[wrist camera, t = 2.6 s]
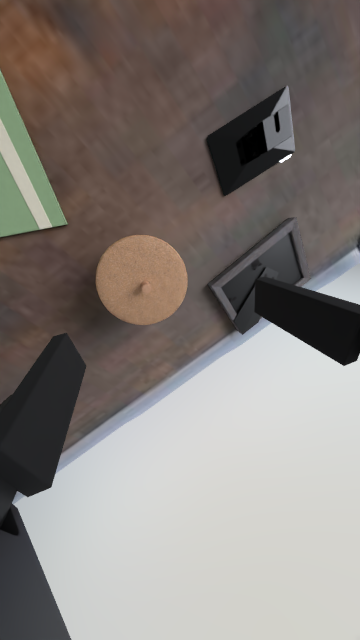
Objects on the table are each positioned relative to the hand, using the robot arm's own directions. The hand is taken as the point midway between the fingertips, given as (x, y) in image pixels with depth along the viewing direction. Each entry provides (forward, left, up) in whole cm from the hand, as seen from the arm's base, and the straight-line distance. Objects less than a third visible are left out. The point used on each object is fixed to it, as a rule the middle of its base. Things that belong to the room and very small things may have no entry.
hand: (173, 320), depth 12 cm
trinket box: (-1, 0, -18) cm, 18 cm away
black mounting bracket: (+19, +13, -18) cm, 29 cm away
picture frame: (+21, -7, -18) cm, 29 cm away
